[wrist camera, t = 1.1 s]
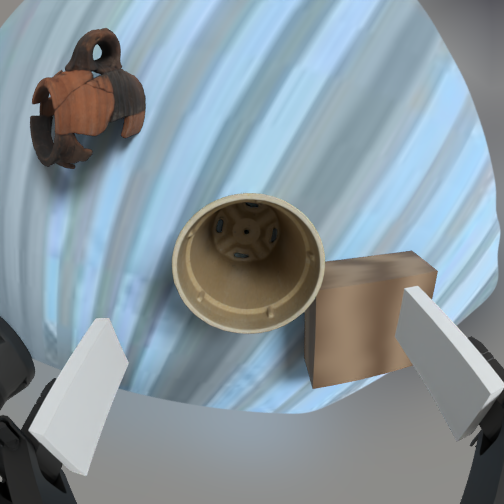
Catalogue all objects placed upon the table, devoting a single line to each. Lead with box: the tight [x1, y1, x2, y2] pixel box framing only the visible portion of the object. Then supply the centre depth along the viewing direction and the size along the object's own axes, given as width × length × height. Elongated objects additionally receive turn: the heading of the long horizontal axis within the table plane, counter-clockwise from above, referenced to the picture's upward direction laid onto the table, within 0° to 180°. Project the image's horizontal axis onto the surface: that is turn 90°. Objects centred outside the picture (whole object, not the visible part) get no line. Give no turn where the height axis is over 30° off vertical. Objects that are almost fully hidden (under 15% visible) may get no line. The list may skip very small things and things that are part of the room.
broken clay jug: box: [30, 28, 146, 169], centre depth 18 cm, size 12×10×8 cm
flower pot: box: [172, 193, 325, 334], centre depth 21 cm, size 9×9×9 cm
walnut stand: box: [304, 251, 438, 389], centre depth 27 cm, size 12×12×5 cm
